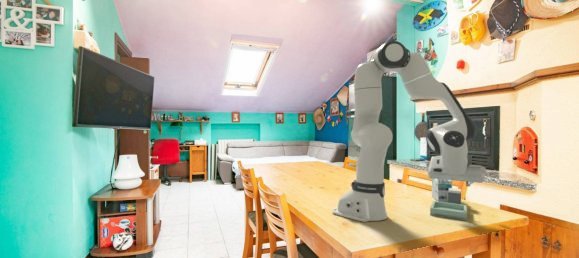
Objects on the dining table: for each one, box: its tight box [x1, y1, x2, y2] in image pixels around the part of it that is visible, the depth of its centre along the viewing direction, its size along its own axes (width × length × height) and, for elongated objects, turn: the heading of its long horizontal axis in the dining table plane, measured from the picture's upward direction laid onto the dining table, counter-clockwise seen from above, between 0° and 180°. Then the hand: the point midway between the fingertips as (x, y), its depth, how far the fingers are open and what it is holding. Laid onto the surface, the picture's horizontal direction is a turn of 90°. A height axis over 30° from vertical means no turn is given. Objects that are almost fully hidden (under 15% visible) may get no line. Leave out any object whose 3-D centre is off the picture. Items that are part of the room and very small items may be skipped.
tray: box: [429, 200, 468, 222], centre depth 118 cm, size 13×13×3 cm
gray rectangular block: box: [447, 187, 462, 205], centre depth 128 cm, size 5×5×8 cm
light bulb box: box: [431, 179, 453, 203], centre depth 140 cm, size 11×7×11 cm, turn 168°
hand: (455, 183), depth 119 cm, fingers open, 8 cm apart
